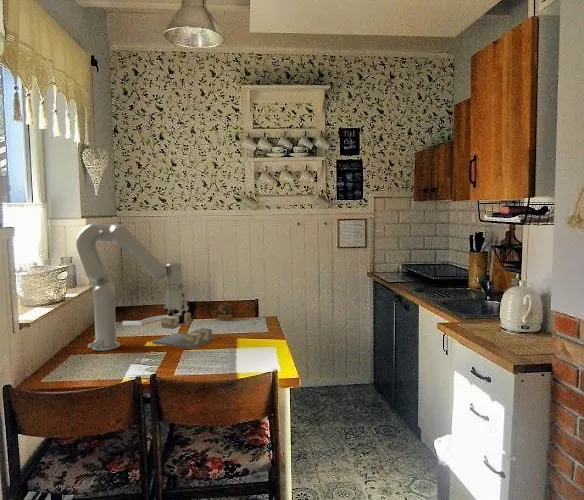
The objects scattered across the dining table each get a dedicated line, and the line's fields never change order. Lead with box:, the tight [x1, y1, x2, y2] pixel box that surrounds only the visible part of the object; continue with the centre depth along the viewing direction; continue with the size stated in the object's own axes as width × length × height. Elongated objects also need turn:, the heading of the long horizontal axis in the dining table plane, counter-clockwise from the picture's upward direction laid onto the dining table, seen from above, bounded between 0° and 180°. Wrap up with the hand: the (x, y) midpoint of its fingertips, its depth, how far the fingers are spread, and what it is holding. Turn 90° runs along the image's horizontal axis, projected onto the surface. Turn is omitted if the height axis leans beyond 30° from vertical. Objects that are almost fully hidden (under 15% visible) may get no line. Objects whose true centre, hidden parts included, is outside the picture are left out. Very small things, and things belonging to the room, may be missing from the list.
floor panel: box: [151, 332, 216, 349], centre depth 249 cm, size 18×25×1 cm
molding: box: [121, 313, 176, 327], centre depth 300 cm, size 42×12×3 cm, turn 133°
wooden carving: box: [210, 302, 238, 321], centre depth 296 cm, size 16×5×10 cm, turn 77°
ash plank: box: [160, 312, 194, 330], centre depth 250 cm, size 16×7×4 cm, turn 155°
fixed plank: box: [182, 327, 213, 346], centre depth 245 cm, size 16×6×4 cm, turn 155°
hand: (176, 322), depth 250 cm, fingers closed on ash plank, 6 cm apart
